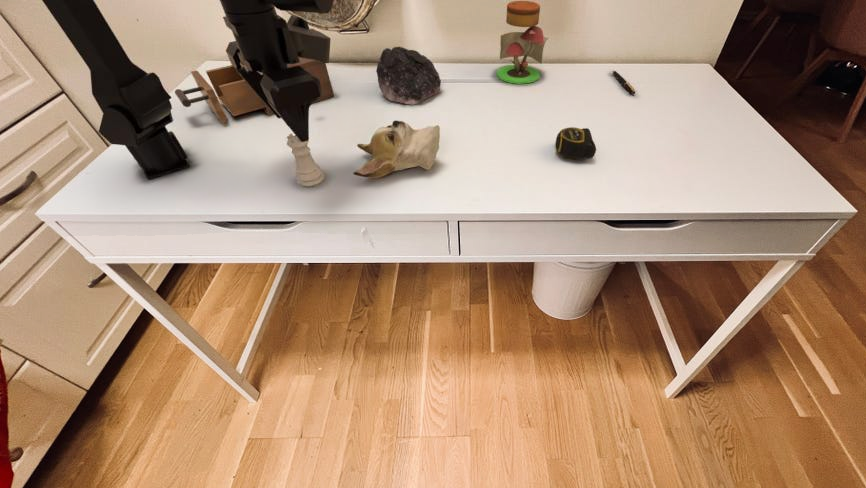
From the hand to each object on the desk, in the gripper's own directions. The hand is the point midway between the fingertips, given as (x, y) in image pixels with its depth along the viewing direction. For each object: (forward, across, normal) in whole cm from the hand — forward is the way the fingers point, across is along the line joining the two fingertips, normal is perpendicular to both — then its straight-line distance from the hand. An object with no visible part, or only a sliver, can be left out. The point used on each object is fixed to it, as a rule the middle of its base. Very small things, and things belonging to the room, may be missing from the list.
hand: (292, 128), depth 59 cm
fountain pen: (+9, -8, -75) cm, 76 cm away
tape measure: (+9, -22, -42) cm, 48 cm away
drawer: (+8, +34, +2) cm, 35 cm away
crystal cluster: (+9, +19, -32) cm, 38 cm away
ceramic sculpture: (+9, -6, -14) cm, 18 cm away
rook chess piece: (+9, 0, 0) cm, 9 cm away
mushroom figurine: (+9, +11, -59) cm, 61 cm away
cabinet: (+9, +34, -10) cm, 37 cm away
